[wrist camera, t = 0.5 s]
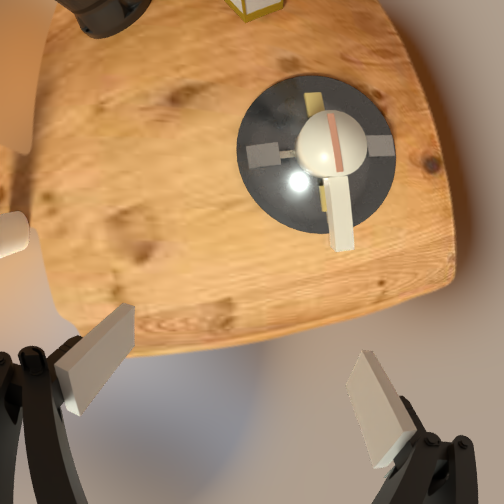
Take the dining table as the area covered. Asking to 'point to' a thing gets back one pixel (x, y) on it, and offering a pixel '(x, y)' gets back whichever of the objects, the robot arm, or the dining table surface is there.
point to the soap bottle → (254, 8)
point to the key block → (332, 163)
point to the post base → (284, 162)
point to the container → (13, 233)
